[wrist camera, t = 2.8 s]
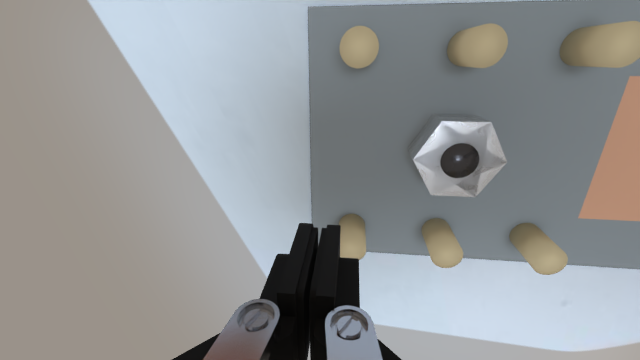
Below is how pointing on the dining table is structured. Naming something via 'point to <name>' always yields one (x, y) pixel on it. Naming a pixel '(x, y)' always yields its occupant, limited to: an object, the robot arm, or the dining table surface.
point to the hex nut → (457, 154)
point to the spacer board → (493, 105)
